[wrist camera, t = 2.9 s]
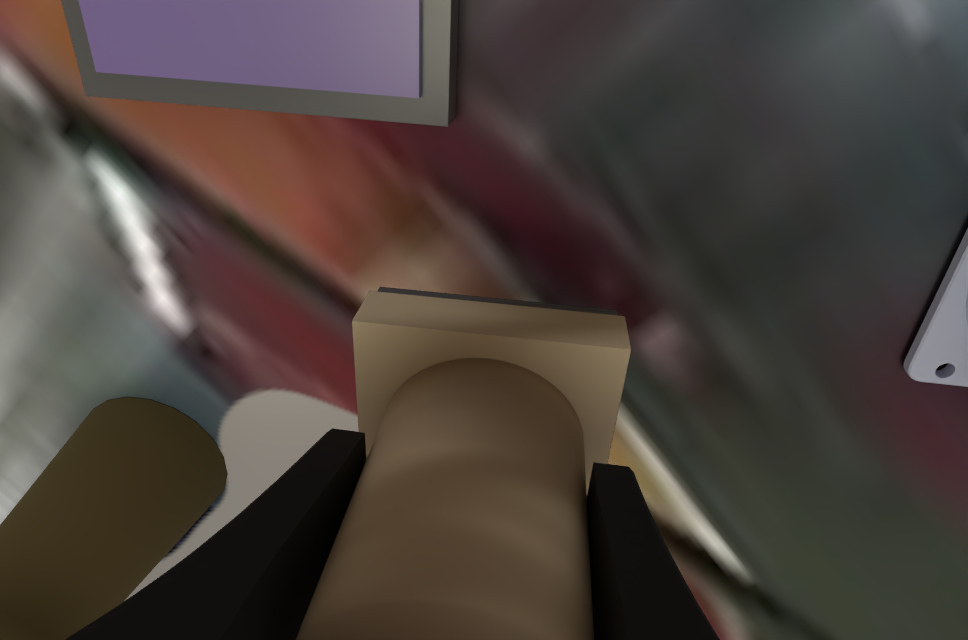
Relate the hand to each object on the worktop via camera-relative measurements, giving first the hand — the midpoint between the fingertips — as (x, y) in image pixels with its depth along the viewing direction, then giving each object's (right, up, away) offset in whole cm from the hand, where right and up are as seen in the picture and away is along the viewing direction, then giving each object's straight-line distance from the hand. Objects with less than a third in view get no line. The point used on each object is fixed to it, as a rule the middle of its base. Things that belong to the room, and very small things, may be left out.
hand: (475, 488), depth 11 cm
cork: (-13, -2, +14) cm, 20 cm away
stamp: (0, +1, +3) cm, 3 cm away
